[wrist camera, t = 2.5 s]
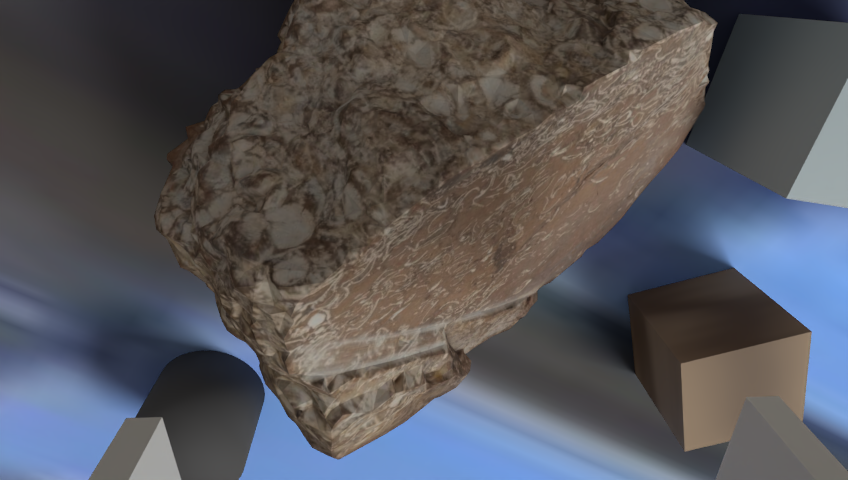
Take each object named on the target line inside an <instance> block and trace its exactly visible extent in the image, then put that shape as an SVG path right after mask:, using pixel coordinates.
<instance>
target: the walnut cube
mask: <svg viewBox="0 0 848 480" xmlns="http://www.w3.org/2000/svg"><path fill="white" fill-rule="evenodd" d="M628 304H629V314H630V324H631V334H632V344H633V354H634V364H635V374H636V376H637V377H638V379H639V380H640V382H641V384H642V385H643V387H644V388H645V390H646V391H647V393H648V395H649V396H650V398H651V399H652V401H653V402H654V404H655V406H656V407H657V409H658V410H659V412H660V413H661V415H662V417H663V418H664V420H665V421H666V423H667V424H668V426H669V428H670V429H671V431H672V432H673V434H674V435H675V437H676V439H677V440H678V442H679V443H680V445H681V446H682V448H683V450H684V451H689V450H693V449H698V448H702V447H706V446H711V445H715V444H719V443H723V442H728V441H730V440H731V437H732V434H733V432H734V429H735V426H736V424H737V421H738V418H739V416H740V413H741V410H742V408H743V405H744V402H745V400H746V397H767V396H779V397H780V398H781V399H782V400H783V401H784V402H785V404H786V405H787V406H788V407H789V408H790V409H791V410H792V411H793V412H794V413H795V414H796V416H797V417H798V418H799V419H800V420H801V421H802V422H803V412H804V402H805V392H806V382H807V372H808V363H809V353H810V343H811V333H812V332H811V331H810V330H809V329H808V328H806V327H805V326H804V325H803V324H802V323H800V322H799V321H798V320H797V319H796V318H794V317H793V316H792V315H791V314H789V313H788V312H787V311H786V310H785V309H783V308H782V307H781V306H780V305H778V304H777V303H776V302H775V301H774V300H772V299H771V298H770V297H769V296H768V295H766V294H765V293H764V292H763V291H761V290H760V289H759V288H758V287H757V286H755V285H754V284H753V283H752V282H750V281H749V280H748V279H747V278H746V277H744V276H743V275H742V274H741V273H740V272H738V271H737V270H736V269H735V268H731V269H727V270H723V271H719V272H715V273H712V274H708V275H704V276H700V277H696V278H692V279H688V280H684V281H680V282H676V283H672V284H668V285H664V286H660V287H656V288H652V289H649V290H645V291H641V292H637V293H633V294H629V295H628Z"/></svg>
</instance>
